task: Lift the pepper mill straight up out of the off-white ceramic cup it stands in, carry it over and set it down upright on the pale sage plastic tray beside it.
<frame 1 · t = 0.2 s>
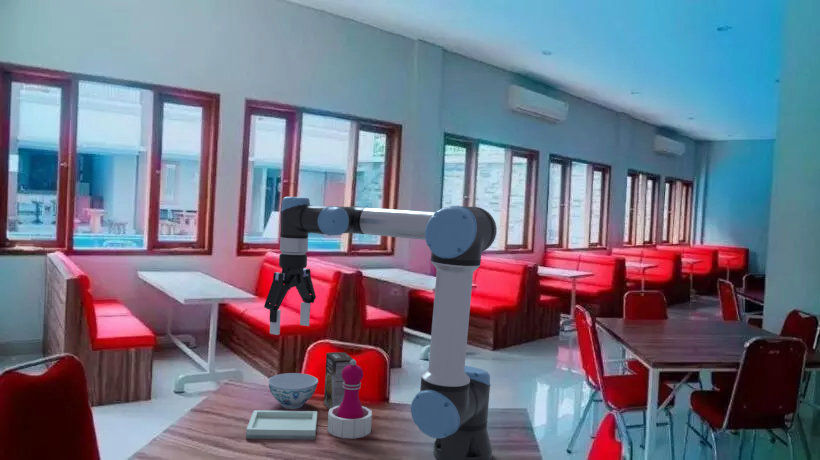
hand: (290, 329, 167), 28 cm above the table, tool pointing down, fingers open, 13 cm apart
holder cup: (349, 429, 169), on the table
chinaware: (292, 405, 186), on the table
tray: (283, 428, 167), on the table
coffee box: (337, 407, 187), on the table
pepper mill: (349, 430, 169), resting in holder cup
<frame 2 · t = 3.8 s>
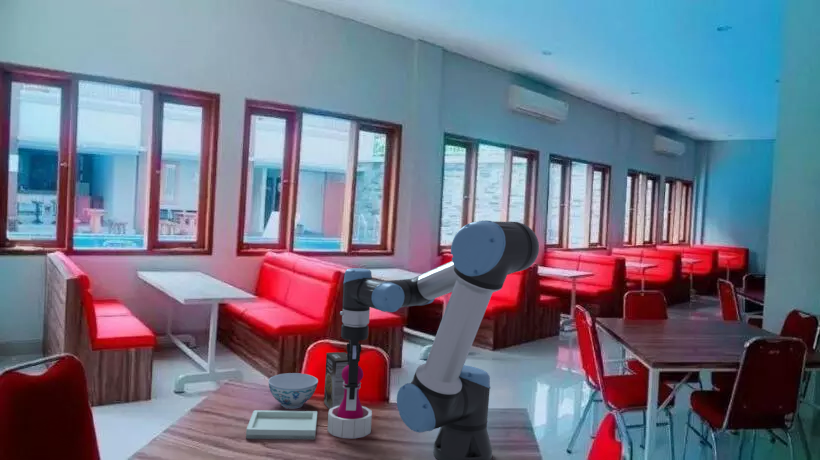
hand: (350, 405, 169), 7 cm above the table, tool pointing down, fingers closed on pepper mill, 6 cm apart
pepper mill: (349, 430, 169), resting in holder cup, touching gripper
everything else where it was.
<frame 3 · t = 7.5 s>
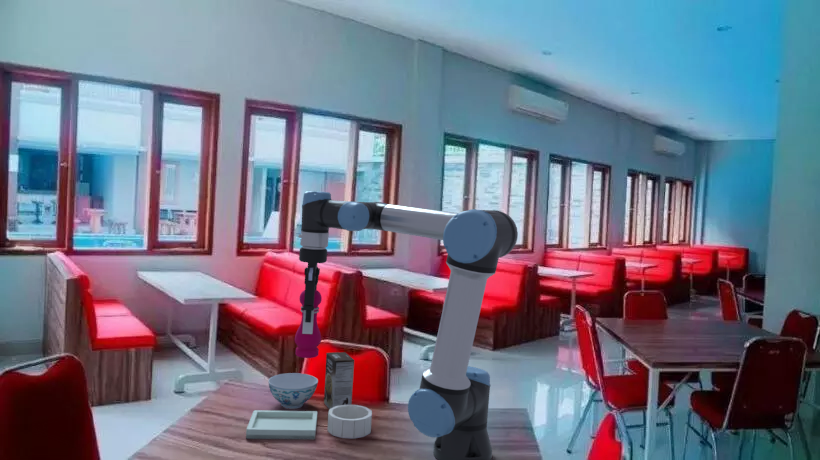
hand: (308, 330, 167), 28 cm above the table, tool pointing down, fingers closed on pepper mill, 6 cm apart
pepper mill: (306, 355, 167), point 21 cm above the table, touching gripper
everything else where it was.
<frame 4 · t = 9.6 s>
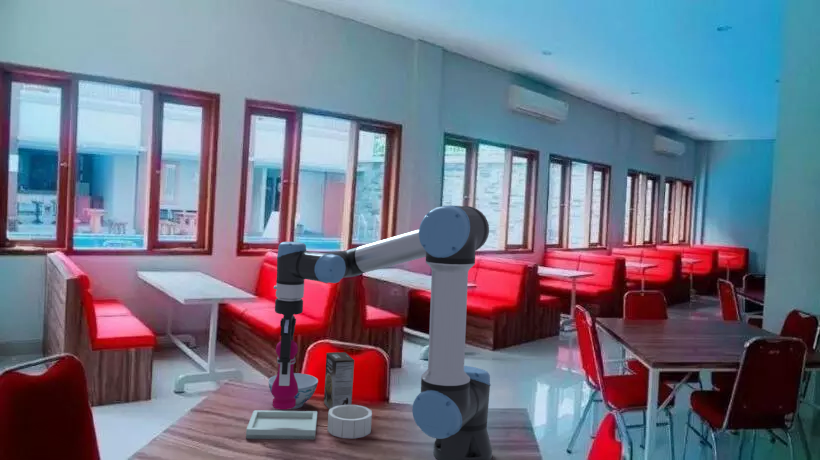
hand: (285, 381, 166), 13 cm above the table, tool pointing down, fingers closed on pepper mill, 6 cm apart
pepper mill: (283, 406, 167), point 6 cm above the table, touching gripper
everything else where it was.
when the fingers open (9 cm above the table, at t = 11.1 s): pepper mill drops 1 cm, resting on tray.
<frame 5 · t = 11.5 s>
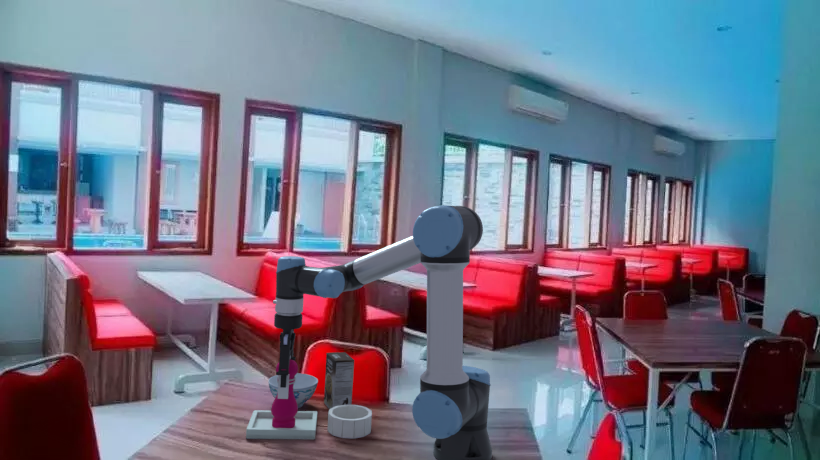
hand: (284, 390, 167), 11 cm above the table, tool pointing down, fingers open, 11 cm apart
pepper mill: (283, 425, 167), point 1 cm above the table, touching tray
everything else where it was.
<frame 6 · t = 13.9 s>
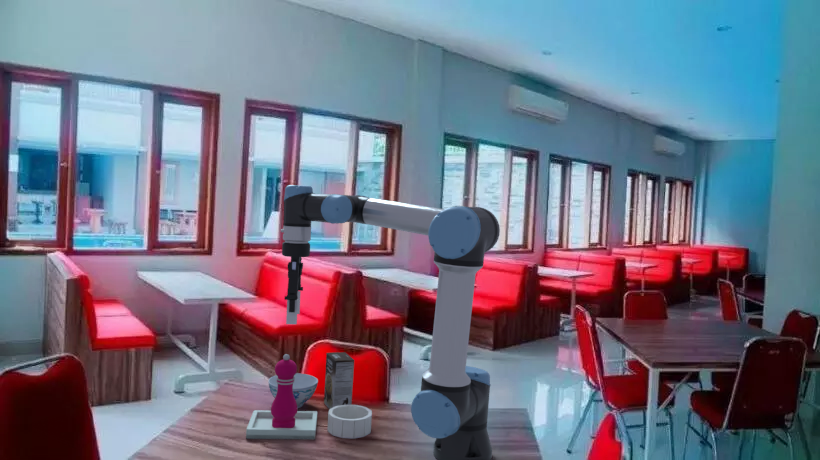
hand: (293, 318, 166), 31 cm above the table, tool pointing down, fingers open, 13 cm apart
nothing on the table moved.
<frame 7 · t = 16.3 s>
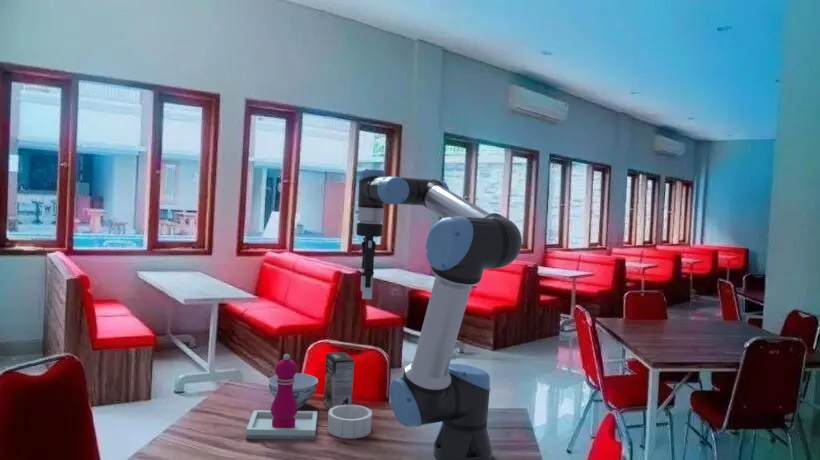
hand: (365, 294, 177), 37 cm above the table, tool pointing down, fingers open, 13 cm apart
nothing on the table moved.
at the end: pepper mill inside the target area on the tray (0.1 cm from its centre), point 0.8 cm above the tray's base; pepper mill tilted 0°; the gripper is holding nothing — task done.
